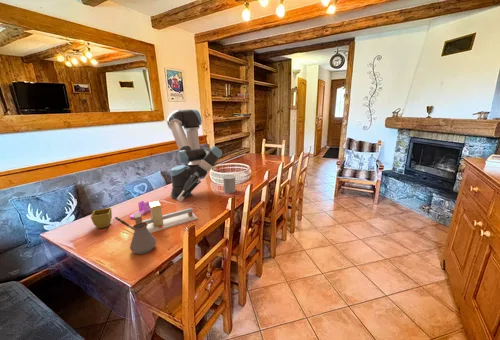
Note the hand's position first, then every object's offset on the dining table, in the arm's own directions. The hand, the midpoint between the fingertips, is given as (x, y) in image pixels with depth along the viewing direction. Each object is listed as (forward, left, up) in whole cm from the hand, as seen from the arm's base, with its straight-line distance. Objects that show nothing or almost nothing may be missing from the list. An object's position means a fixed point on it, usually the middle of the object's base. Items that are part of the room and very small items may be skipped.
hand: (178, 200), depth 129 cm
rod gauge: (0, -8, -13) cm, 15 cm away
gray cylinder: (-24, +46, -13) cm, 54 cm away
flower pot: (-19, -40, -13) cm, 46 cm away
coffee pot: (+15, -26, -13) cm, 33 cm away
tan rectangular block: (0, -13, -11) cm, 17 cm away
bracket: (-24, -20, -13) cm, 34 cm away
